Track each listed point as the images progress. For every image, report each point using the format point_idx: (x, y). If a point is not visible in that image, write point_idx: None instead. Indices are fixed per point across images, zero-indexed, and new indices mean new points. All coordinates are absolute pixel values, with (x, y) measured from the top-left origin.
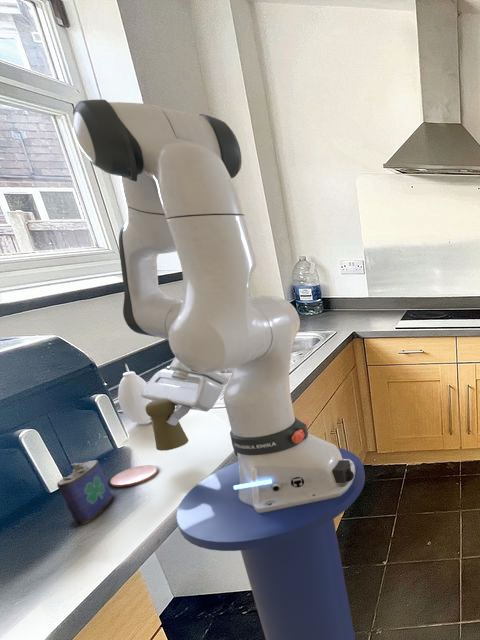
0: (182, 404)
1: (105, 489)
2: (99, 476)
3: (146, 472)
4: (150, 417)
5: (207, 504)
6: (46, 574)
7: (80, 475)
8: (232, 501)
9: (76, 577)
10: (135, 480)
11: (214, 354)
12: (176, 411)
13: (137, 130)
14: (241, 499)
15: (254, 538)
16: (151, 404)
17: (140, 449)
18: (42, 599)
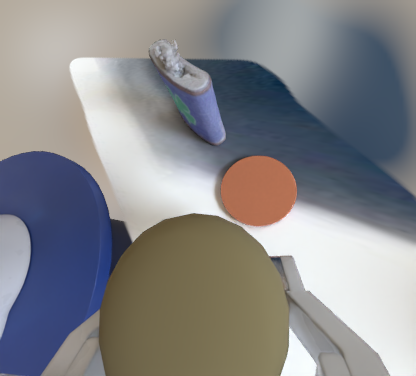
0: (2, 373)
1: (198, 126)
2: (187, 106)
3: (243, 204)
4: (285, 259)
5: (49, 190)
6: (128, 76)
7: (156, 63)
8: (24, 209)
9: (101, 89)
10: (229, 180)
11: None
12: (92, 318)
13: None
14: (11, 215)
15: None
16: (166, 246)
17: None
18: (102, 72)
